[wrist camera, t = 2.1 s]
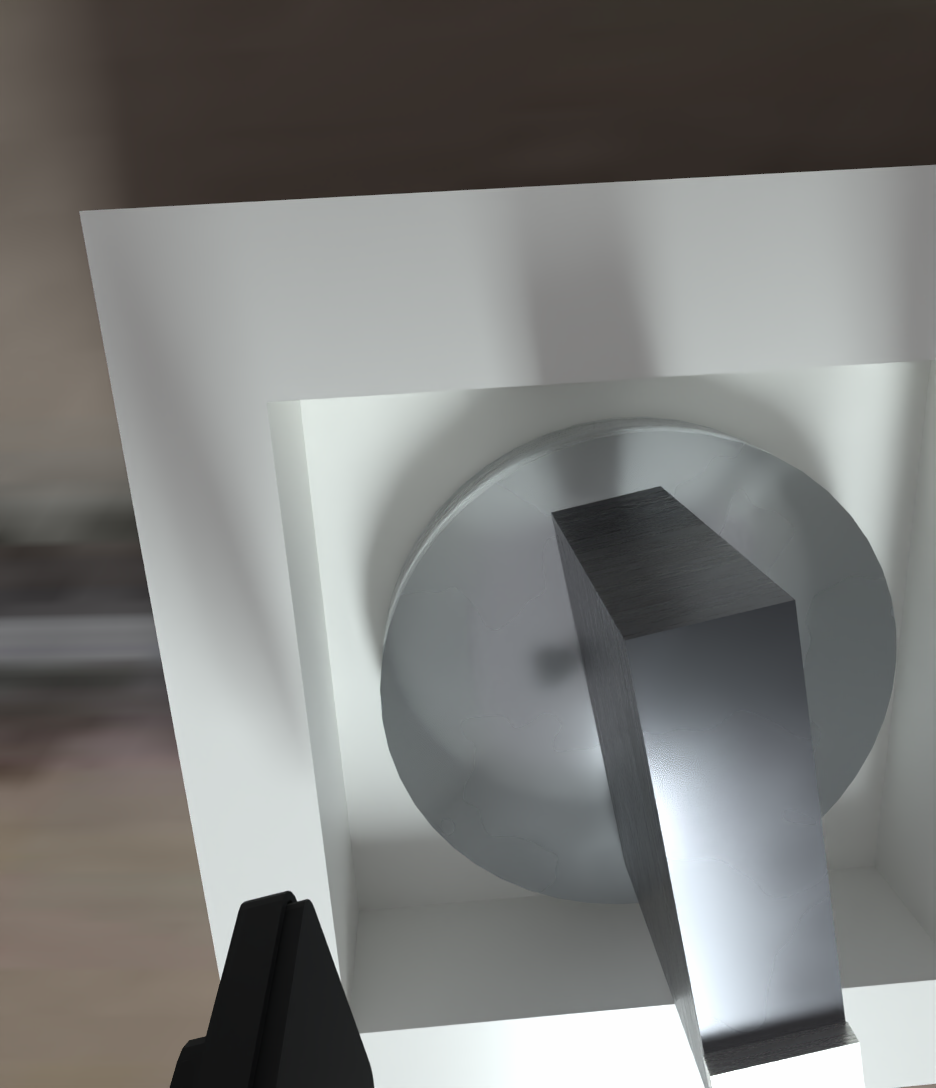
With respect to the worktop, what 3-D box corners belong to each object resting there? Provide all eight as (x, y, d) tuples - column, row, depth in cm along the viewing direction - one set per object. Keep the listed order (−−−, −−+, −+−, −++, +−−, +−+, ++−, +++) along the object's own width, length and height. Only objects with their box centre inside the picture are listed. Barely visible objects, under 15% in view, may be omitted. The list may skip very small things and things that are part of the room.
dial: (324, 485, 14) (253, 648, 8) (833, 362, 14) (1166, 427, 8) (447, 898, 17) (464, 1262, 11) (874, 798, 17) (1146, 1106, 11)
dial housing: (1008, 185, 15) (1251, 146, 11) (914, 903, 20) (1054, 1080, 16) (177, 231, 15) (74, 210, 10) (287, 960, 20) (249, 1160, 15)
